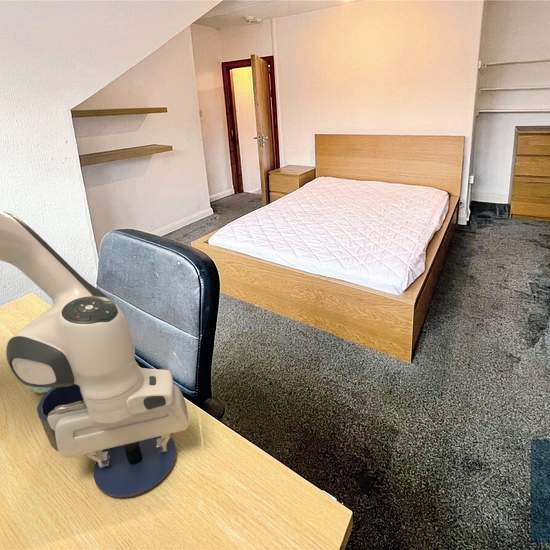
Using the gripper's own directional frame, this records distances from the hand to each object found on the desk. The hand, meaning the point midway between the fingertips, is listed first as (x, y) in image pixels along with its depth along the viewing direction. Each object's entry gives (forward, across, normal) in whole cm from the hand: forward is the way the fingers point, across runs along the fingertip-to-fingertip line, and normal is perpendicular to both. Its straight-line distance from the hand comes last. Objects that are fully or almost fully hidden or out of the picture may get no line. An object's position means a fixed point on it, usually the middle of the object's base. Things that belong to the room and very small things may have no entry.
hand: (134, 456), depth 70 cm
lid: (+1, 0, 0) cm, 1 cm away
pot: (+2, -10, +12) cm, 16 cm away
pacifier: (+2, -19, +27) cm, 33 cm away
